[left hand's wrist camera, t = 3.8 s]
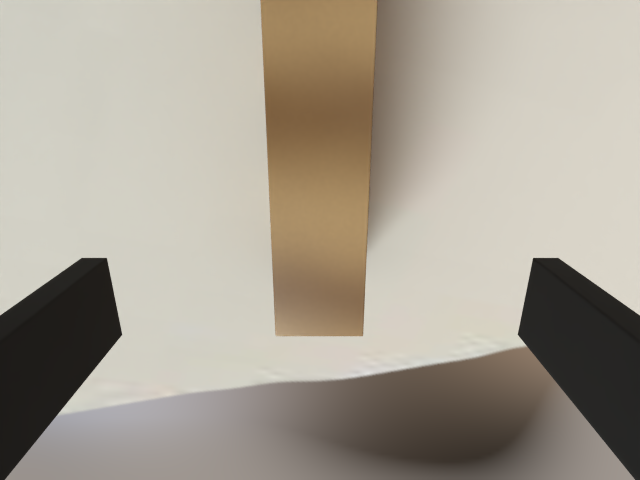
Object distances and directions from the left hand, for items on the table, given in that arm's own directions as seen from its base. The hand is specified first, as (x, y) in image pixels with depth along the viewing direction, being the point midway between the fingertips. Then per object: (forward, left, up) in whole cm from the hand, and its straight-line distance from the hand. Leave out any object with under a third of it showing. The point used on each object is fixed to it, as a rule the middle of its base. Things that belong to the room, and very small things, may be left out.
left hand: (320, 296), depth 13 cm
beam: (-11, +20, -16) cm, 27 cm away
